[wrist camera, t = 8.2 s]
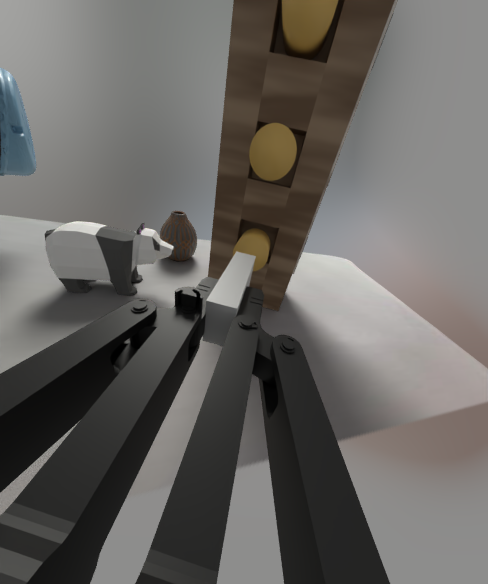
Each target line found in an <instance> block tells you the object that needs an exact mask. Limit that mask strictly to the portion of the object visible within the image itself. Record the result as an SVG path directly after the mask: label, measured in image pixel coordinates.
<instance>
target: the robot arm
mask: <svg viewBox="0 0 488 584" xmlns="http://www.w3.org/2000/svg"><path fill="white" fill-rule="evenodd" d="M35 170H36V159H35V152H34V147H33V142H32V137H31V133H30V129H29V124H28V120H27V116H26V113H25V109H24V105H23V102H22V98H21V95H20V92H19V89H18V86H17V84H16V81H15V79H14V78H13V76H12V75H11V74H10V73H9V72H8V71H7V70H4V69H2V68H0V176H4V175H20V176H28V175H31V174H33V173H34V172H35ZM255 258H256V256H253V255H249V254H245V253H241V252H237V251H236V253H235V255H234V256H233V258H232V259H231V261H230V263H229V264H228V266H227V268H226V269H225V271H224V272H223V274H222V276H221V277H220V279H219V280H218V279H215V278H211V277H207V278H205V279H203V280H202V281H201V282H200V283H199V285H198V286H197V287H196V288H194V287H182V288H179V289H177V290H176V291H175V306H174V307H173V308H156V304H155V303H154V302H153V301H152V300H149V299H136V300H133V301H131V302H128V303H127V304H125V305H123V306H121V307H119V308H118V309H116V310H114V311H112V312H110V313H109V314H107V315H105V316H103V317H101V318H100V319H98V320H96V321H94V322H93V323H91V324H89V325H87V326H85V327H84V328H82V329H80V330H78V331H76V332H75V333H73V334H71V335H69V336H67V337H66V338H64V339H62V340H60V341H58V342H57V343H55V344H53V345H51V346H49V347H48V348H46V349H44V350H42V351H40V352H39V353H37V354H35V355H33V356H32V357H30V358H28V359H26V360H24V361H23V362H21V363H19V364H17V365H15V366H14V367H12V368H10V369H8V370H6V371H5V372H3V373H1V374H0V492H1V491H3V490H4V489H5V488H6V487H7V486H8V485H9V484H10V483H11V482H12V481H14V480H15V479H16V478H17V477H18V476H19V475H20V474H21V473H22V472H24V471H25V470H26V469H27V468H28V467H29V466H30V465H31V464H32V463H33V462H35V461H36V460H37V459H38V458H39V457H40V456H41V455H42V454H43V453H45V452H46V451H47V450H48V449H49V448H50V447H51V446H52V445H53V444H54V443H56V442H57V441H58V440H59V439H60V438H61V437H62V436H63V435H64V434H65V433H67V432H68V431H69V430H70V429H71V428H72V427H73V426H74V425H75V424H77V423H78V422H79V421H80V422H79V423H78V424H77V425H76V427H75V428H74V429H73V430H72V431H71V433H70V434H69V435H68V436H67V437H66V439H65V440H64V441H63V442H62V444H61V445H60V446H59V447H58V448H57V450H56V451H55V452H54V453H53V454H52V456H51V457H50V458H49V459H48V461H47V462H46V463H45V464H44V465H43V467H42V468H41V469H40V470H39V471H38V473H37V474H36V475H35V476H34V478H33V479H32V480H31V481H30V482H29V484H28V485H27V486H26V487H25V489H24V490H23V491H22V492H21V493H20V495H19V496H18V497H17V498H16V499H15V501H14V502H13V503H12V504H11V505H10V506H9V507H8V508H7V510H6V511H5V512H4V513H3V514H1V515H0V584H90V582H91V580H92V577H93V574H94V571H95V569H96V566H97V562H98V558H99V554H100V552H101V549H102V546H103V544H104V542H105V540H106V538H107V536H108V534H109V532H110V530H111V528H112V526H113V523H114V521H115V519H116V517H117V515H118V513H119V511H120V509H121V507H122V505H123V503H124V501H125V499H126V497H127V495H128V493H129V491H130V489H131V487H132V485H133V482H134V480H135V478H136V476H137V474H138V472H139V470H140V468H141V466H142V464H143V462H144V460H145V458H146V456H147V454H148V452H149V450H150V448H151V446H152V444H153V441H154V439H155V437H156V435H157V433H158V431H159V429H160V427H161V425H162V423H163V421H164V419H165V417H166V415H167V413H168V411H169V409H170V407H171V405H172V402H173V400H174V398H175V396H176V394H177V392H178V390H179V388H180V386H181V384H182V382H183V380H184V378H185V376H186V374H187V372H188V370H189V368H190V366H191V364H192V361H193V359H194V357H195V355H196V353H197V351H198V349H199V345H200V340H201V338H202V336H203V341H206V342H210V343H214V344H217V345H221V346H223V348H222V351H221V354H220V357H219V359H218V362H217V365H216V368H215V370H214V373H213V376H212V379H211V382H210V384H209V387H208V390H207V393H206V395H205V398H204V401H203V404H202V406H201V409H200V412H199V415H198V417H197V420H196V423H195V426H194V429H193V431H192V434H191V437H190V440H189V442H188V445H187V448H186V451H185V453H184V456H183V459H182V462H181V464H180V467H179V470H178V473H177V476H176V478H175V481H174V484H173V487H172V489H171V492H170V495H169V498H168V500H167V503H166V506H165V509H164V512H163V514H162V517H161V520H160V522H159V525H158V528H157V531H156V534H155V537H154V539H153V542H152V545H151V548H150V550H149V553H148V555H147V558H146V561H145V563H144V566H143V568H142V570H141V573H140V575H139V577H138V579H137V582H136V583H135V584H216V583H217V577H218V571H219V565H220V559H221V553H222V547H223V541H224V536H225V530H226V524H227V517H228V512H229V506H230V500H231V494H232V488H233V483H234V477H235V471H236V465H237V459H238V453H239V447H240V441H241V436H242V430H243V424H244V418H245V412H246V406H247V400H248V394H249V389H250V383H251V377H252V374H253V375H255V376H256V377H258V378H259V383H260V391H261V399H262V407H263V415H264V423H265V431H266V439H267V448H268V456H269V464H270V472H271V480H272V487H273V496H274V504H275V512H276V520H277V529H278V536H279V544H280V553H281V561H282V568H283V576H284V584H390V582H389V580H388V577H387V574H386V572H385V569H384V567H383V564H382V561H381V559H380V556H379V553H378V550H377V548H376V545H375V542H374V540H373V537H372V534H371V532H370V529H369V526H368V523H367V521H366V518H365V515H364V513H363V510H362V507H361V505H360V502H359V500H358V497H357V494H356V491H355V489H354V486H353V483H352V481H351V478H350V475H349V473H348V470H347V467H346V465H345V462H344V459H343V456H342V454H341V451H340V448H339V446H338V443H337V440H336V438H335V435H334V432H333V430H332V427H331V424H330V422H329V419H328V416H327V414H326V411H325V408H324V405H323V403H322V400H321V397H320V395H319V392H318V389H317V387H316V384H315V381H314V379H313V376H312V373H311V371H310V368H309V365H308V363H307V360H306V357H305V355H304V352H303V349H302V347H301V345H300V344H299V342H298V341H296V340H295V339H294V338H292V337H290V336H287V335H279V336H277V337H275V338H274V337H272V336H270V335H269V334H267V333H266V332H265V331H264V330H263V329H262V328H261V326H260V317H261V312H262V305H263V300H264V293H263V291H262V290H260V289H256V288H252V287H249V284H250V280H251V275H252V271H253V267H254V262H255ZM126 340H127V341H126Z"/></svg>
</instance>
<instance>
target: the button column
mask: <svg viewBox="0 0 488 584" xmlns="http://www.w3.org/2000/svg"><path fill="white" fill-rule="evenodd" d="M397 1H398V0H338V3H337V6H336V10H335V13H334V16H333V19H332V23H331V26H330V29H329V32H328V35H327V38H326V41H325V43H324V45H323V47H322V48H321V50H320V51H319V53H318V54H317V55H316V56H315V57H314V58H312V59H311V60H307V59H302V58H297V57H292V56H288V54H287V52H286V50H285V47H284V43H283V23H282V0H234V4H233V16H232V25H231V36H230V47H229V58H228V69H227V79H226V91H225V100H224V113H223V122H222V133H221V143H220V154H219V165H218V176H217V187H216V198H215V208H214V219H213V229H212V240H211V251H210V261H209V272H208V277H211V278H215V279H218V280H219V279H220V277H221V276H222V274H223V272H224V271H225V269H226V268H227V266H228V264H229V263H230V261H231V259H232V258H233V249H234V247H235V245H236V244H237V242H238V241H239V239H240V238H241V236H242V235H243V233H244V232H246V231H247V230H249V229H253V228H256V229H260V230H262V231H264V232H265V233H266V234H267V235H268V237H269V239H270V249H269V254H268V259H267V262H266V264H265V265H264V266H263V267H262V268H261V269H259V270H257V271H252V275H251V280H250V284H249V287H252V288H256V289H260V290H262V291H263V293H264V300H263V305H262V307H265V308H268V309H272V310H276V311H278V310H279V308H280V305H281V302H282V300H283V297H284V294H285V292H286V289H287V286H288V284H289V281H290V278H291V276H292V274H294V272H295V269H296V267H297V264H298V262H299V259H300V257H301V254H302V252H303V249H304V246H305V244H306V241H307V238H308V235H309V232H310V230H311V227H312V225H313V222H314V219H315V217H316V214H317V212H318V209H319V206H320V204H321V201H322V198H323V196H324V193H325V190H326V188H327V186H328V183H329V181H330V178H331V176H332V173H333V170H334V168H335V165H336V162H337V160H338V157H339V155H340V151H341V148H342V146H343V143H344V141H345V138H346V135H347V133H348V130H349V128H350V124H351V122H352V120H353V117H354V114H355V112H356V109H357V106H358V104H359V101H360V99H361V96H362V93H363V91H364V88H365V85H366V83H367V80H368V77H369V75H370V72H371V70H372V68H373V66H374V63H375V60H376V58H377V55H378V52H379V50H380V47H381V45H382V42H383V39H384V37H385V34H386V31H387V29H388V26H389V23H390V21H391V18H392V16H393V12H394V9H395V6H396V4H397ZM270 123H280V124H283V125H285V126H286V127H288V128H289V129H290V130H291V132H292V133H293V135H294V137H295V140H296V146H297V153H296V158H295V161H294V164H293V166H292V168H291V169H290V171H289V172H288V173H287V174H286V175H285V176H283V177H282V178H280V179H278V180H273V181H268V180H264V179H262V178H260V177H259V176H258V175H257V174H256V173H255V172H254V170H253V168H252V166H251V163H250V157H249V152H250V146H251V142H252V140H253V138H254V136H255V134H256V133H257V132H258V131H259V130H260V129H261V128H262V127H264V126H265V125H267V124H270Z"/></svg>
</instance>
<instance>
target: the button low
mask: <svg viewBox="0 0 488 584" xmlns="http://www.w3.org/2000/svg"><path fill="white" fill-rule="evenodd" d="M269 249H270V239H269V237H268V235H267V234H266V233H265V232H264V231H262V230H260V229H256V228H253V229H249V230H247V231H246V232H244V233H243V235H242V236H241V238H240V239H239V241H238V242H237V244H236V245H235V247H234V249H233V256H234V255H235V253H236V251H237V252H241V253H245V254H249V255H253V256H256V258H255V262H254V267H253V271H257V270H259V269H261V268H262V267H263V266H264V265H265V264H266V262H267V259H268V254H269Z"/></svg>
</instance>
